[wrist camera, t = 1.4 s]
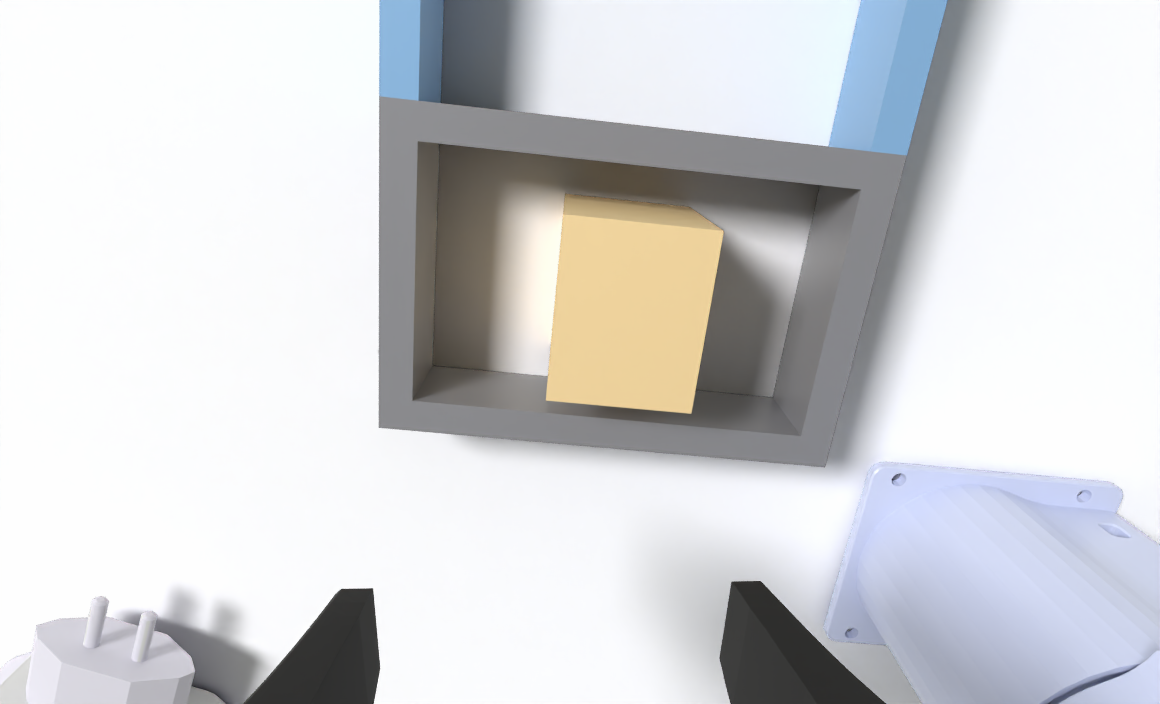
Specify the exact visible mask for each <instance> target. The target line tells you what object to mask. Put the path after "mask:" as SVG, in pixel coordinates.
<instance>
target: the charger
mask: <svg viewBox="0 0 1160 704" xmlns="http://www.w3.org/2000/svg"><path fill="white" fill-rule="evenodd" d="M108 603H109V601H108V599H107V598H105V597H102V596H100V597H96V598H94V599H92V602H91V607H90V612H89V617H88V618H64V619H57V620H54V621H50V622H47V623H43V624H40V625H36V631H35V637H34V643H33V649H32V652H29V653H26V654H23V655H20V656H16V657H14V658H13V659H11V660H9V661H8V662H6V663H5V664H4V665H3V666H2V667H1V668H0V704H226V703H224V702H223V701H222V700H221V699H220V698H219V697H218V696H216V695H215V694H213V693H211V692H209V691H206V690H203V689H199V688H196V687H192V686H191V685H192V682H193V678H194V675H195V668H194V665H193V661H192V657H191V656H190V655H189V654H188V653H187V652H186V651H184V650H183V649H182V648H181V647H180V646H179V645H178V644H177V643H176V642H175V641H174V640H173V639H172V638H171V637H170V636H168V635H167V634H164V633H161V632H158V631H154V629H155V625H156V621H157V614H156V613H155V612H153V611H147V612H144V613H142V614H141V618H140V622H139V626H137V625H134V624H131V623H127V622H124V621H120V620H117V619H114V618H110V617H106V613H107V608H108Z"/></svg>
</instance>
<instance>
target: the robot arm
mask: <svg viewBox="0 0 1160 704" xmlns="http://www.w3.org/2000/svg"><path fill="white" fill-rule="evenodd" d="M900 473H901V475H900V477H899V478H898V479H897V480H893V481H892V478H893V476H895V475H896V474H900ZM1081 491H1083V492H1082V493H1081V494H1080V495H1078V494H1079V492H1081ZM1077 495H1078V496H1077ZM1122 497H1123V492H1122V490H1121V489H1120V488H1119V487H1118V486H1116V485H1115V484H1113V483H1110V482H1105V481H1094V480H1083V479H1072V478H1060V477H1049V476H1038V475H1027V474H1016V473H1004V472H993V471H982V470H971V469H960V468H949V467H937V466H926V465H915V464H904V463H893V462H879V463H876V464H874V465H873V466H872V467H871V468H870V469H869V471H868V474H867V477H866V481H865V484H864V488H863V491H862V495H861V498H860V502H859V505H858V508H857V512H856V515H855V519H854V522H853V526H852V529H851V533H850V536H849V540H848V543H847V547H846V550H845V554H844V557H843V560H842V564H841V567H840V571H839V574H838V578H837V581H836V585H835V588H834V592H833V595H832V599H831V602H830V606H829V609H828V613H827V616H826V619H825V623H824V630H825V632H826V634H827V636H828V638H829V639H831V640H833V641H838V642H851V643H864V644H877V645H887V646H888V648H889V649H890V651H891V653H892V654H893V656H894V658H895V659H896V661H897V663H898V664H899V666H900V668H901V669H902V671H903V673H904V674H905V676H906V678H907V679H908V681H909V683H910V684H911V686H912V688H913V689H914V691H915V693H916V694H917V696H918V698H919V699H920V701H921V702H922V704H1160V544H1158V543H1157V542H1156V541H1154V540H1153V539H1151V538H1150V537H1149V536H1147V535H1146V534H1144V533H1143V532H1142V531H1140V530H1139V529H1137V528H1136V527H1135V526H1133V525H1132V524H1130V523H1129V522H1128V521H1126V520H1125V519H1123V518H1122V517H1121V516H1119V515H1118V514H1116V512H1117V510H1118V507H1119V505H1120V503H1121V501H1122ZM850 628H853V629H852V630H850V631H847V630H848V629H850ZM720 662H721V666H722V671H723V675H724V679H725V683H726V688H727V692H728V695H729V699H730V703H731V704H886V703H885V702H883V701H882V700H881V699H880V698H879V697H878V696H877V695H875V694H874V693H873V692H872V691H871V690H870V689H869V688H868V687H866V686H865V685H864V684H863V683H862V682H861V681H860V680H859V679H857V678H856V677H855V676H854V675H853V674H852V673H851V672H850V671H849V670H848V669H847V668H846V667H844V666H843V665H842V664H841V663H840V662H839V661H838V660H837V659H836V658H835V657H834V656H833V655H832V654H831V653H830V652H829V651H828V650H827V649H826V648H825V647H824V646H823V645H822V644H821V643H820V642H819V641H818V640H817V639H816V638H815V637H814V636H813V635H812V634H811V633H810V632H809V631H808V630H807V629H806V628H805V627H804V626H803V625H802V624H801V623H800V622H799V621H798V620H797V619H796V618H795V617H794V616H793V615H792V613H791V612H790V611H789V610H788V609H787V608H786V607H785V606H784V605H783V604H782V603H781V602H780V601H779V600H778V599H777V598H776V597H775V596H774V595H773V594H772V593H771V591H770V590H769V589H768V588H767V587H766V586H765V585H764V584H763V583H762V582H761V581H741V582H731V589H730V595H729V601H728V608H727V614H726V620H725V627H724V633H723V640H722V646H721V652H720ZM379 671H380V661H379V650H378V639H377V628H376V616H375V605H374V594H373V588H370V589H341V590H340V591H338V592H337V593H336V594H335V596H334V597H333V598H332V599H331V601H330V602H329V603H328V605H327V606H326V607H325V609H324V610H323V611H322V612H321V614H320V615H319V616H318V618H317V619H316V620H315V621H314V623H313V624H312V625H311V626H310V628H309V629H308V630H307V631H306V633H305V634H304V635H303V636H302V638H301V639H300V640H299V641H298V642H297V644H296V645H295V646H294V647H293V648H292V650H291V651H290V652H289V653H288V654H287V655H286V657H285V658H284V659H283V660H282V661H281V662H280V664H279V665H278V666H277V667H276V668H275V669H274V671H273V672H272V673H271V674H270V675H269V676H268V677H267V679H266V680H265V681H264V682H263V683H262V684H261V685H260V686H259V687H258V688H257V689H256V691H255V692H254V693H253V694H252V695H251V696H250V697H249V698H248V699H247V700H246V701H245V702H244V703H243V704H374V699H375V693H376V688H377V682H378V677H379Z"/></svg>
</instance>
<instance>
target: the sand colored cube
mask: <svg viewBox="0 0 1160 704" xmlns="http://www.w3.org/2000/svg"><path fill="white" fill-rule="evenodd" d="M723 233H724V231H723V230H722V229H720V228H719V227H717V226H716V225H715V224H713V223H712V222H710V221H709V220H707V219H706V218H705V217H703V216H702V215H700V214H699V213H697V212H696V211H695V210H693V209H692V208H690V207H685V206H676V205H667V204H657V203H648V202H638V201H629V200H619V199H610V198H601V197H591V196H582V195H572V194H565V201H564V211H563V222H562V232H561V243H560V253H559V264H558V274H557V285H556V295H555V306H554V316H553V327H552V338H551V348H550V359H549V370H548V381H547V392H546V401H557V402H568V403H579V404H590V405H601V406H612V407H623V408H634V409H645V410H656V411H667V412H678V413H689V414H691V413H692V407H693V402H694V396H695V391H696V385H697V379H698V374H699V368H700V362H701V357H702V351H703V346H704V340H705V334H706V329H707V323H708V318H709V312H710V306H711V301H712V295H713V290H714V284H715V278H716V273H717V267H718V261H719V256H720V250H721V245H722V239H723Z"/></svg>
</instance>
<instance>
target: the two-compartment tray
mask: <svg viewBox="0 0 1160 704" xmlns="http://www.w3.org/2000/svg"><path fill="white" fill-rule="evenodd" d="M947 1H948V0H861V3H860V8H859V12H858V17H857V21H856V26H855V30H854V35H853V39H852V44H851V48H850V53H849V57H848V62H847V66H846V71H845V75H844V80H843V84H842V89H841V93H840V98H839V102H838V107H837V111H836V116H835V120H834V125H833V129H832V134H831V138H830V143H829V147H827V146H818V145H809V144H800V143H791V142H782V141H773V140H765V139H756V138H747V137H738V136H729V135H720V134H711V133H702V132H693V131H684V130H675V129H667V128H658V127H649V126H640V125H631V124H622V123H613V122H604V121H595V120H586V119H577V118H569V117H560V116H551V115H542V114H533V113H524V112H515V111H506V110H497V109H488V108H479V107H471V106H462V105H453V104H444V103H441V79H442V47H443V15H444V0H380V63H379V428H388V429H400V430H411V431H422V432H434V433H445V434H456V435H467V436H479V437H490V438H501V439H512V440H524V441H535V442H546V443H558V444H569V445H580V446H591V447H603V448H614V449H625V450H636V451H648V452H659V453H670V454H682V455H693V456H704V457H715V458H727V459H738V460H749V461H760V462H772V463H783V464H794V465H805V466H817V467H825V466H826V462H827V458H828V454H829V450H830V447H831V443H832V439H833V435H834V431H835V427H836V424H837V420H838V416H839V412H840V408H841V405H842V401H843V397H844V393H845V389H846V386H847V382H848V378H849V374H850V370H851V366H852V363H853V359H854V355H855V351H856V347H857V344H858V340H859V336H860V332H861V328H862V325H863V321H864V317H865V313H866V309H867V306H868V302H869V298H870V294H871V290H872V286H873V283H874V279H875V275H876V271H877V267H878V264H879V260H880V256H881V252H882V248H883V245H884V241H885V237H886V233H887V229H888V225H889V222H890V218H891V214H892V210H893V206H894V203H895V199H896V195H897V191H898V187H899V184H900V180H901V176H902V172H903V168H904V164H905V161H906V157H907V153H908V149H909V145H910V142H911V138H912V134H913V130H914V126H915V123H916V119H917V115H918V111H919V107H920V104H921V100H922V96H923V92H924V88H925V84H926V81H927V77H928V73H929V69H930V65H931V62H932V58H933V54H934V50H935V46H936V43H937V39H938V35H939V31H940V27H941V23H942V20H943V16H944V12H945V8H946V4H947ZM439 144H448V145H458V146H467V147H476V148H485V149H494V150H503V151H512V152H522V153H531V154H540V155H549V156H558V157H567V158H576V159H586V160H595V161H604V162H613V163H622V164H631V165H641V166H650V167H659V168H668V169H677V170H686V171H695V172H705V173H714V174H723V175H732V176H741V177H750V178H759V179H769V180H778V181H787V182H796V183H805V184H814V185H820V187H819V192H818V196H817V201H816V205H815V210H814V214H813V219H812V223H811V228H810V232H809V237H808V241H807V246H806V250H805V255H804V259H803V264H802V268H801V273H800V277H799V282H798V286H797V291H796V295H795V300H794V304H793V309H792V313H791V318H790V322H789V327H788V331H787V336H786V340H785V345H784V349H783V354H782V358H781V362H780V367H779V371H778V376H777V380H776V385H775V389H774V394H773V397H762V396H751V395H741V394H730V393H719V392H709V391H698V390H696V391H695V396H694V402H693V407H692V413H691V414H689V413H678V412H667V411H656V410H645V409H634V408H623V407H612V406H601V405H590V404H579V403H568V402H557V401H546V392H547V381H548V376H537V375H527V374H516V373H505V372H495V371H484V370H473V369H463V368H452V367H441V366H432V365H433V333H434V302H435V270H436V238H437V206H438V174H439Z"/></svg>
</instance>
